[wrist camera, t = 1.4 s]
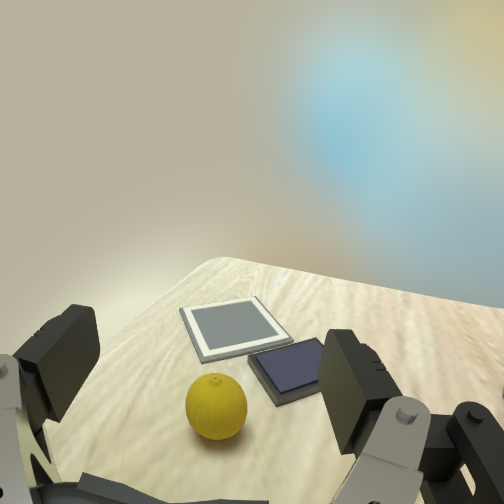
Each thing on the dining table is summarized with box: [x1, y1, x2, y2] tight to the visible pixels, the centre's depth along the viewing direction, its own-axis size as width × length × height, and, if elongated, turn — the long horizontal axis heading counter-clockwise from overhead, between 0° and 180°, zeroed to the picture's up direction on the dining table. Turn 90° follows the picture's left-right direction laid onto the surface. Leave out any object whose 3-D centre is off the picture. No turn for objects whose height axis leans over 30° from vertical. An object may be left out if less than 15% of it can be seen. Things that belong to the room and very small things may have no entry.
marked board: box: [179, 296, 294, 364], centre depth 43 cm, size 13×13×1 cm
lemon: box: [185, 373, 247, 440], centre depth 25 cm, size 6×6×8 cm
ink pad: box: [248, 337, 324, 407], centre depth 35 cm, size 10×8×2 cm
